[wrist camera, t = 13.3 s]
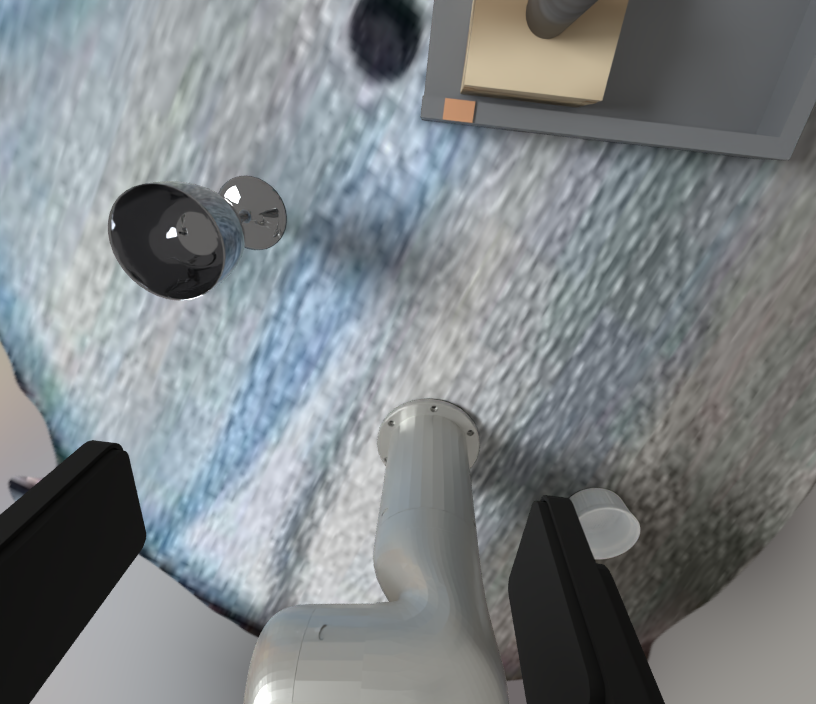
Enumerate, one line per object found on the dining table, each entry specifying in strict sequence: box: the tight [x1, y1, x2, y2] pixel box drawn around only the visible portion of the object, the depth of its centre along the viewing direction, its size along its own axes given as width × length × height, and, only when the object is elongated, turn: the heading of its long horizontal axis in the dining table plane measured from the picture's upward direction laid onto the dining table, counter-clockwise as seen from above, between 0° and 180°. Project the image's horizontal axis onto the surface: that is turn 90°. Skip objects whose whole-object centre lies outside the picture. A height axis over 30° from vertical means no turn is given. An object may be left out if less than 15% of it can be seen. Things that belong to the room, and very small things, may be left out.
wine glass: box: [108, 176, 286, 300], centre depth 36 cm, size 8×8×15 cm
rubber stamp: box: [460, 0, 629, 108], centre depth 28 cm, size 10×10×14 cm
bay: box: [421, 0, 816, 160], centre depth 33 cm, size 14×30×4 cm, turn 84°
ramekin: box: [569, 488, 640, 559], centre depth 55 cm, size 9×9×4 cm
